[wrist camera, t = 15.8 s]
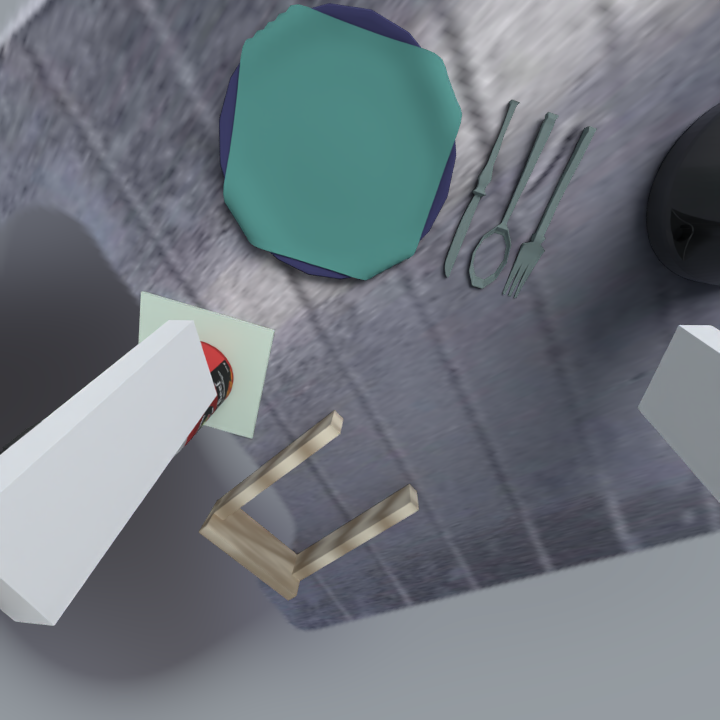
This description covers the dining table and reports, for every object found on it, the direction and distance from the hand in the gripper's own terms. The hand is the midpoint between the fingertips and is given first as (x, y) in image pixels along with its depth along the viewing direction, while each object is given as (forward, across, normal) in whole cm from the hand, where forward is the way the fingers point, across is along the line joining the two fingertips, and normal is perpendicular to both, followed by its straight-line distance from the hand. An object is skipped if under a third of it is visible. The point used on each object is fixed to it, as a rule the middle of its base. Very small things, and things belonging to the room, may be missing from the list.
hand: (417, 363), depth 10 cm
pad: (+22, -22, -16) cm, 35 cm away
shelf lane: (+20, -10, -33) cm, 39 cm away
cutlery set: (+27, -1, +2) cm, 27 cm away
